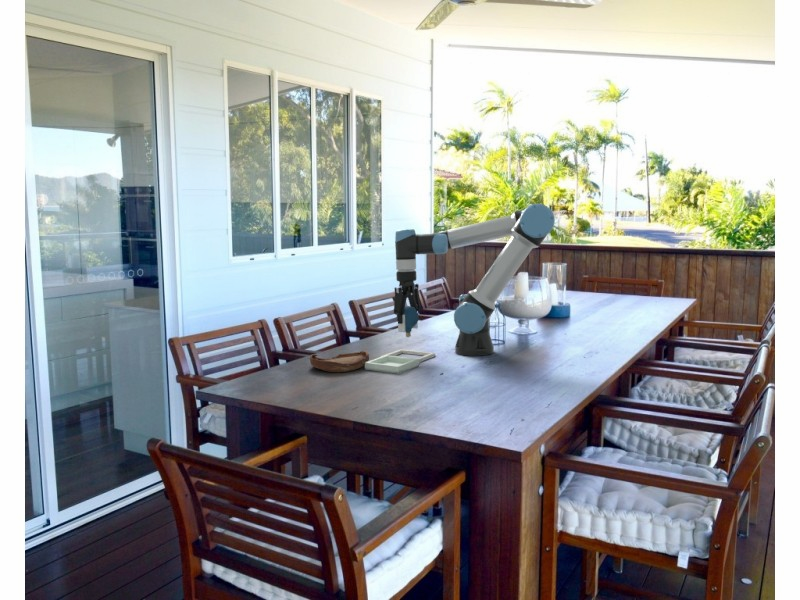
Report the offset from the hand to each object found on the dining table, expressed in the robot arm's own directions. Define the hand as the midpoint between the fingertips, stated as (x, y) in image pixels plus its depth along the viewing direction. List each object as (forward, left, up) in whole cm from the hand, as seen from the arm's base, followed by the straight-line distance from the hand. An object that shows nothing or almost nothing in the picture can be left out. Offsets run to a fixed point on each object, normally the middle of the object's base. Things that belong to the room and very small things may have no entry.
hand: (408, 329), depth 264 cm
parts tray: (-3, +17, -11) cm, 20 cm away
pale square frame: (0, 0, -11) cm, 11 cm away
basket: (+14, +24, -11) cm, 30 cm away
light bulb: (0, 0, -3) cm, 3 cm away
